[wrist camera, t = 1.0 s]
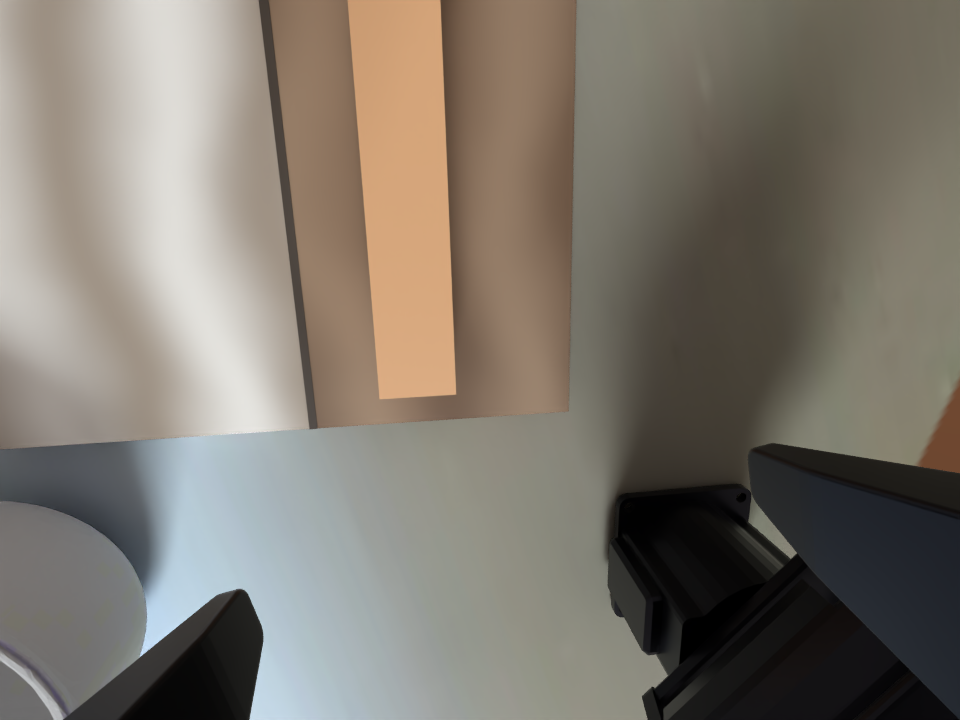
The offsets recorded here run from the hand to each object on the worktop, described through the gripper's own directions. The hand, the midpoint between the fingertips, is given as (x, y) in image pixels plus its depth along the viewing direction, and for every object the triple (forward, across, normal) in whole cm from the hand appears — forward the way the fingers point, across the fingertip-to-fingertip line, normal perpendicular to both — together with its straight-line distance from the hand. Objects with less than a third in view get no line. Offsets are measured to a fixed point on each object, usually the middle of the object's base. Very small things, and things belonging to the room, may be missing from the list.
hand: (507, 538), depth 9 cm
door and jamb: (+12, +5, -11) cm, 17 cm away
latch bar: (+11, 0, -8) cm, 13 cm away
